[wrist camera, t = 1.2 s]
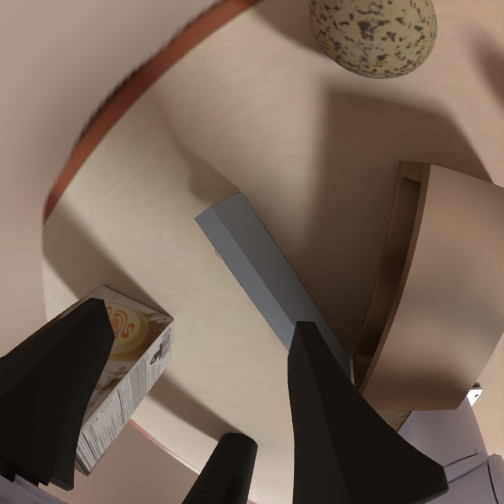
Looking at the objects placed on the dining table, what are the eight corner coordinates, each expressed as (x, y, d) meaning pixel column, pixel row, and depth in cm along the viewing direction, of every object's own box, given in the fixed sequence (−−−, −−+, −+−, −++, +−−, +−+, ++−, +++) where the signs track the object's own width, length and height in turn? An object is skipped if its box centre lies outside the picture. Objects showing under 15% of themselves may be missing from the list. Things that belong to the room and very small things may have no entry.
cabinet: (439, 363, 20) (456, 409, 15) (352, 356, 22) (355, 408, 16) (497, 190, 15) (543, 205, 9) (399, 161, 16) (431, 163, 11)
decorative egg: (339, 104, 16) (355, 51, 7) (296, 22, 15) (270, -64, 6) (427, 81, 14) (498, 34, 5) (382, 1, 12) (408, -78, 3)
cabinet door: (352, 363, 22) (354, 412, 17) (325, 374, 23) (321, 422, 18) (241, 192, 19) (211, 205, 14) (212, 212, 20) (176, 231, 15)
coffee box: (104, 329, 29) (10, 414, 14) (101, 282, 26) (-17, 366, 11) (172, 363, 27) (87, 479, 13) (177, 317, 25) (64, 446, 10)
